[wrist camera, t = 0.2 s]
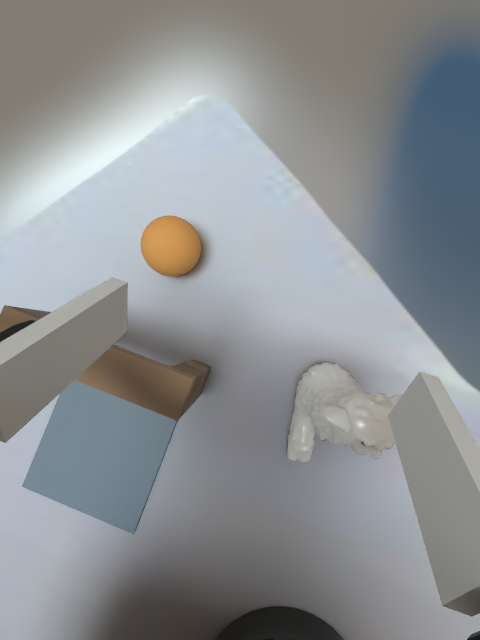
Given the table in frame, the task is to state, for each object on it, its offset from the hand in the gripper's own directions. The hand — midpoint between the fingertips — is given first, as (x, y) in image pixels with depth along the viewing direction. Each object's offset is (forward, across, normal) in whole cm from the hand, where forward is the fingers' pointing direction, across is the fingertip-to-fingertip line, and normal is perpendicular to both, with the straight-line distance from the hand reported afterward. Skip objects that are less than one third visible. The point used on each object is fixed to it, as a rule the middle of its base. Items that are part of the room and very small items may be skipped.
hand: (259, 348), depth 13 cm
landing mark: (+4, +12, +21) cm, 24 cm away
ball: (+14, +11, +2) cm, 18 cm away
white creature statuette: (+12, -8, +12) cm, 19 cm away
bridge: (+10, +11, +13) cm, 20 cm away
